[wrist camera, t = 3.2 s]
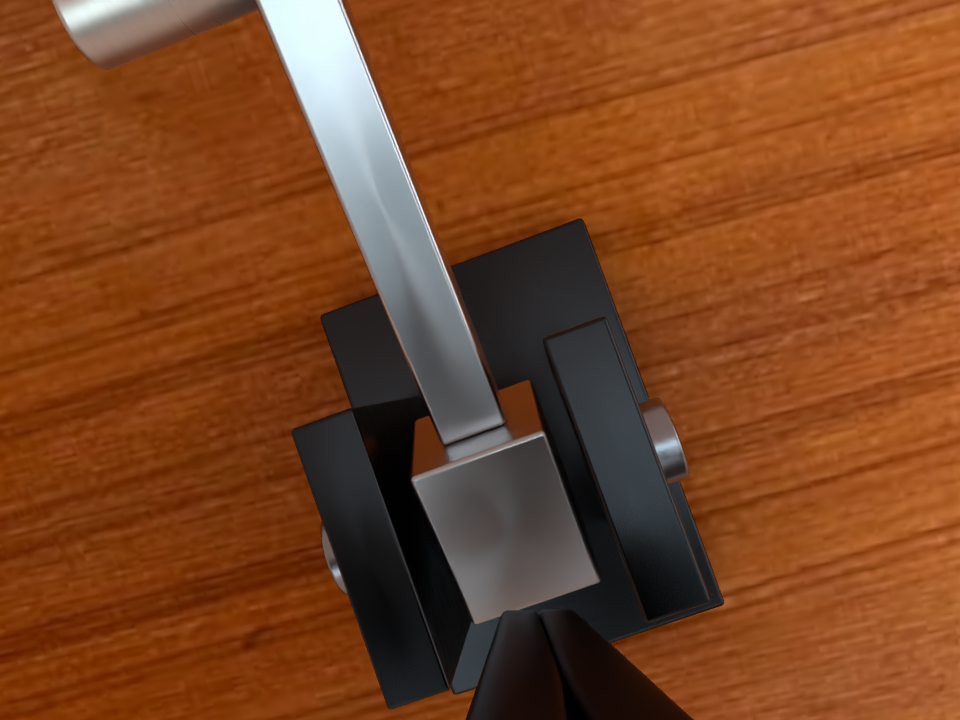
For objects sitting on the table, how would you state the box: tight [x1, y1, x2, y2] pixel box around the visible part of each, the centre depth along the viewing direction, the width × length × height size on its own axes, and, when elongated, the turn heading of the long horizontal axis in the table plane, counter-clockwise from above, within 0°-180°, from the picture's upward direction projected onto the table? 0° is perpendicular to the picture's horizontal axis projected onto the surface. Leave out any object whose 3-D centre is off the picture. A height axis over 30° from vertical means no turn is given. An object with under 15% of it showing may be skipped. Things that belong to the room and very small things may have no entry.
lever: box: [52, 0, 601, 624], centre depth 13 cm, size 11×6×2 cm, turn 20°
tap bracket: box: [292, 219, 724, 709], centre depth 18 cm, size 10×7×10 cm
